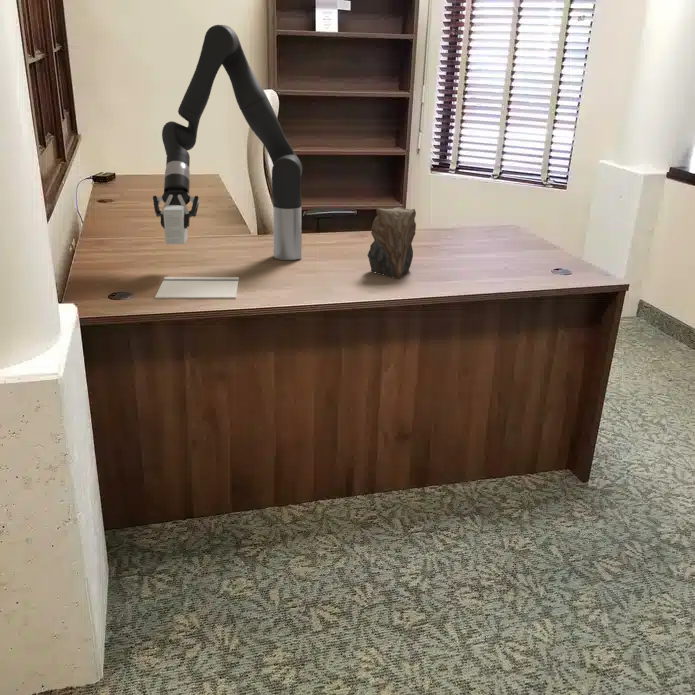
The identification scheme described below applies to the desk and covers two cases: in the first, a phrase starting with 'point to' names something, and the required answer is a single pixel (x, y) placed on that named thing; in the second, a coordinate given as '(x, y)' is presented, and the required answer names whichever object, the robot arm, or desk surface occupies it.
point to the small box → (174, 224)
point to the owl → (392, 241)
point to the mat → (198, 288)
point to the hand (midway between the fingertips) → (174, 227)
